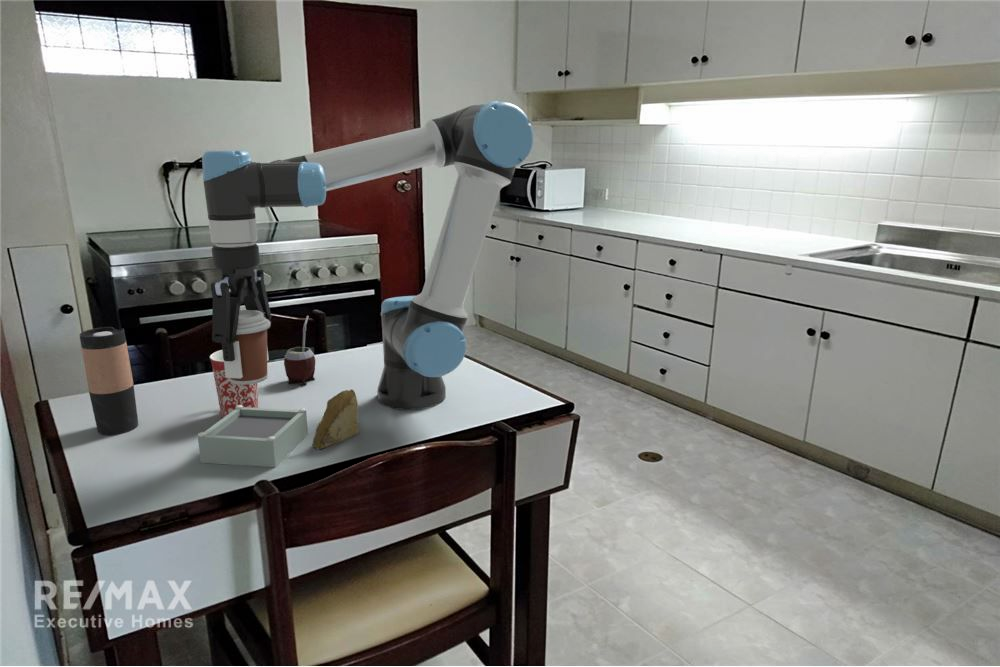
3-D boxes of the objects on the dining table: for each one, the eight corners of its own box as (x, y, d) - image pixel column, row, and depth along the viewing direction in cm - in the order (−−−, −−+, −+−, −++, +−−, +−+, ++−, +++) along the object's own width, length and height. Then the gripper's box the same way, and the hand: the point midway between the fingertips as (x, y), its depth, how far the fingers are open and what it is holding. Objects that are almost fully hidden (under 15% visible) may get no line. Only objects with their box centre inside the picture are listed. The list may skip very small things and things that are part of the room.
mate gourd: (290, 388, 153) (284, 326, 149) (282, 379, 160) (276, 319, 156) (322, 383, 157) (317, 322, 153) (313, 374, 163) (308, 315, 159)
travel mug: (95, 438, 127) (76, 339, 122) (97, 424, 133) (80, 329, 128) (139, 431, 130) (124, 333, 125) (140, 417, 137) (125, 324, 131)
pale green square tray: (308, 434, 129) (306, 408, 127) (275, 467, 115) (273, 439, 114) (240, 430, 131) (237, 404, 129) (200, 462, 117) (196, 434, 116)
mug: (264, 419, 136) (258, 357, 132) (217, 426, 133) (209, 362, 129) (260, 398, 147) (254, 341, 144) (216, 404, 144) (209, 345, 140)
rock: (316, 446, 119) (369, 428, 123) (301, 402, 121) (353, 386, 125) (312, 458, 128) (361, 441, 132) (298, 418, 130) (347, 402, 134)
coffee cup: (281, 370, 124) (275, 308, 121) (266, 387, 115) (260, 320, 112) (232, 370, 124) (225, 308, 120) (213, 387, 115) (205, 321, 112)
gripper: (245, 235, 124) (257, 350, 130) (176, 252, 103) (194, 388, 109) (283, 236, 123) (293, 351, 129) (221, 253, 102) (236, 390, 108)
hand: (248, 368), depth 119 cm, fingers closed on coffee cup, 9 cm apart
